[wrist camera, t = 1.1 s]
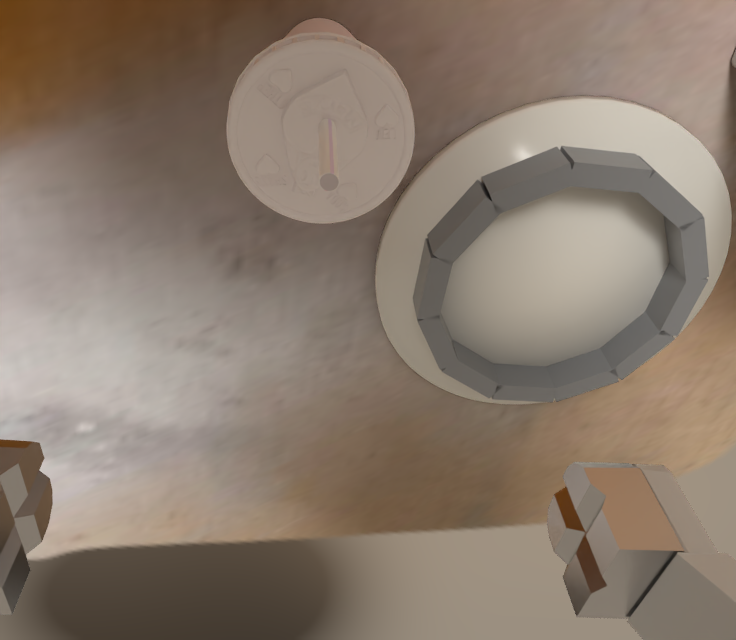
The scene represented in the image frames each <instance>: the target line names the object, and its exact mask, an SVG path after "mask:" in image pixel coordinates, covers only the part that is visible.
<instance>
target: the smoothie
mask: <svg viewBox="0 0 736 640" xmlns="http://www.w3.org/2000/svg"><path fill="white" fill-rule="evenodd" d="M226 137H227V145H228V150H229V154H230V157H231V160H232V163H233V165H234V167H235V170H236V172H237V173H238V175H239V177H240V179H241V180H242V182H243V183H244V185H245V186H246V187H247V188H248V189H249V191H250V192H251V193H252V194H253V195H254V196H255V197H256V198H257V199H258V200H260V201H261V202H262V203H263V204H264V205H266V206H267V207H269V208H270V209H272V210H274V211H276V212H277V213H279V214H281V215H284V216H286V217H289V218H291V219H294V220H298V221H302V222H308V223H317V224H329V223H338V222H343V221H347V220H350V219H354V218H356V217H359V216H361V215H363V214H365V213H367V212H369V211H371V210H373V209H374V208H376V207H377V206H378V205H380V204H381V203H382V202H384V201H385V200H386V199H387V198H388V197H389V196H390V195H391V194H392V193H393V192H394V191H395V189H396V188H397V187H398V185H399V184H400V182H401V181H402V179H403V177H404V176H405V174H406V172H407V170H408V167H409V164H410V162H411V158H412V155H413V150H414V144H415V124H414V117H413V111H412V107H411V103H410V99H409V95H408V91H407V89H406V88H405V86H404V84H403V82H402V81H401V79H400V77H399V75H398V74H397V72H396V70H395V69H394V68H393V67H392V66H391V65H390V64H389V63H388V62H387V61H386V60H385V59H384V58H383V57H382V56H381V55H380V54H379V53H378V52H377V51H376V50H374V49H372V48H371V47H369V46H367V45H365V44H363V43H362V42H360V41H358V40H356V39H355V38H354V37H353V35H352V34H351V33H350V32H349V31H348V30H347V29H346V28H345V27H344V26H342V25H341V24H339V23H337V22H335V21H333V20H330V19H326V18H313V19H308V20H305V21H303V22H301V23H299V24H298V25H296V26H295V27H294V28H293V29H292V30H291V31H290V32H289V33H288V34H287V35H286V36H285V37H284V39H282V40H279V41H276V42H274V43H273V44H271V45H270V46H269V47H267V48H266V49H264V50H263V51H262V52H260V53H259V54H257V55H256V56H255V57H254V58H253V59H252V60H251V62H250V63H249V64H248V65H247V67H246V68H245V69H244V71H243V72H242V73H241V74H240V76H239V77H238V79H237V82H236V84H235V87H234V89H233V92H232V94H231V97H230V100H229V107H228V115H227V124H226Z"/></svg>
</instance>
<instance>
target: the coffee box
mask: <svg viewBox="0 0 736 640" xmlns="http://www.w3.org/2000/svg"><path fill="white" fill-rule="evenodd" d="M732 65H733V67H735V68H736V50H735V52H734V55H733V57H732Z"/></svg>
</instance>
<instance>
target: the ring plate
mask: <svg viewBox="0 0 736 640" xmlns="http://www.w3.org/2000/svg"><path fill="white" fill-rule="evenodd" d="M731 225H732V211H731V204H730V197H729V192H728V189H727V186H726V183H725V180H724V177H723V174H722V172H721V171H720V169H719V167H718V165H717V163H716V161H715V160H714V158H713V157H712V155H711V154H710V153H709V152H708V150H707V149H706V148H705V147H704V146H703V144H702V143H701V142H700V141H699V140H698V139H696V138H695V137H694V136H693V135H692V134H690V133H689V132H688V131H687V130H686V129H684V128H683V127H682V126H681V125H679V124H678V123H677V122H675V121H674V120H672V119H671V118H669V117H667V116H665V115H663V114H662V113H660V112H658V111H656V110H655V109H652V108H649V107H646V106H644V105H641V104H638V103H635V102H633V101H628V100H623V99H618V98H613V97H606V96H585V95H580V96H569V97H557V98H551V99H547V100H542V101H538V102H533V103H529V104H526V105H523V106H520V107H517V108H514V109H511V110H508V111H506V112H503V113H500V114H498V115H496V116H494V117H492V118H490V119H488V120H486V121H484V122H482V123H480V124H478V125H476V126H475V127H473V128H472V129H470V130H468V131H467V132H465V133H464V134H462V135H461V136H459V137H458V138H456V139H454V140H453V141H452V142H451V143H449V144H448V145H447V146H446V147H445V148H443V149H442V150H441V151H440V152H439V153H437V154H436V155H435V156H434V157H433V158H432V159H431V160H430V161H429V162H428V163H427V164H426V165H425V166H424V167H423V168H422V169H421V170H420V171H419V172H418V173H417V174H416V175H415V177H414V178H413V179H412V181H411V182H410V184H409V185H408V186H407V188H406V189H405V190H404V192H403V193H402V194H401V196H400V198H399V199H398V201H397V203H396V205H395V206H394V208H393V210H392V212H391V214H390V215H389V218H388V220H387V223H386V225H385V228H384V230H383V233H382V235H381V239H380V243H379V248H378V252H377V256H376V267H375V287H376V298H377V305H378V309H379V314H380V318H381V322H382V324H383V327H384V329H385V332H386V334H387V336H388V339H389V340H390V342H391V343H392V345H393V347H394V348H395V350H396V352H397V353H398V354H399V355H400V356H401V358H402V359H403V360H404V361H405V362H406V363H407V365H408V366H409V367H411V368H412V369H413V370H414V371H415V372H416V373H418V374H419V375H420V376H421V377H423V378H424V379H426V380H427V381H429V382H430V383H432V384H434V385H435V386H437V387H439V388H441V389H443V390H446V391H448V392H450V393H452V394H455V395H458V396H461V397H464V398H467V399H472V400H476V401H481V402H486V403H496V404H534V403H544V402H553V401H555V400H556V402H558V401H561V400H564V399H567V398H570V397H573V396H576V395H579V394H583V393H586V392H588V391H591V390H595V389H598V388H601V387H604V386H607V385H610V384H613V383H616V382H619V381H618V379H619V378H620V379H621V380H623V379H624V378H625V377H626V376H628V375H629V374H630V373H632V372H633V371H634V370H635V369H637V368H638V367H640V366H641V365H643V364H644V363H645V362H647V361H648V360H650V359H651V358H652V357H654V356H655V355H657V354H658V353H659V352H660V351H661V350H663V349H664V348H665V347H666V346H667V345H669V344H670V343H671V342H672V341H673V340H674V339H675V338H676V337H677V336H678V335H679V334H680V333H681V332H682V331H683V330H684V329H685V328H686V327H687V326H688V325H689V323H690V322H691V321H692V320H693V318H694V317H695V316H696V315H697V313H698V312H699V311H700V310H701V308H702V306H703V305H704V303H705V302H706V300H707V299H708V297H709V295H710V294H711V292H712V290H713V288H714V286H715V284H716V282H717V280H718V278H719V276H720V274H721V271H722V268H723V265H724V263H725V260H726V257H727V254H728V248H729V243H730V238H731Z"/></svg>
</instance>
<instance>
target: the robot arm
mask: <svg viewBox="0 0 736 640" xmlns="http://www.w3.org/2000/svg"><path fill="white" fill-rule="evenodd" d="M43 460H44V456H43V452H42V449H41V446H40V443H37V442H30V441H15V440H0V615H12V614H13V611H14V609H15V607H16V604H17V602H18V599H19V597H20V594H21V592H22V589H23V587H24V585H25V582H26V580H27V577H28V574H29V572H30V567H29V564H28V561H27V558H26V554H27V553H29V552H30V551H31V550H32V549H34V548H35V547H36V546H37V545H39V544H40V543H41V542H42V540H43V537H44V535H45V532H46V530H47V527H48V524H49V519H50V514H51V509H52V504H53V503H52V487H51V482H50V478H48V477H47V476H46V475H44V474H43V473H42V472H41V471H39V469H40V467H41V465H42V462H43ZM563 479H564V482H565V484H566V487H565V488H563V489H562V490H560V491H559V492H557V493H556V494H554V496H553V498H552V501H551V503H550V505H549V508H548V521H547V525H548V532H549V538H550V541H551V544H552V547H553V550H554V552H555V553H556V554H557V555H558V556H559V557H560V558H561V559H562V560H563V561H564V562H565V563H566V564H567V567H566V570H565V573H564V575H563V579H564V582H565V585H566V588H567V590H568V594H569V596H570V599H571V602H572V605H573V608H574V611H575V614H576V616H577V617H591V618H621V619H622V618H623V619H628V621H627V622H628V623H629V624H630V625H631V627H632V628H633V629H634V630H635V631H636V632H637V633H638V634H639V636H640V637H642V639H643V640H736V560H735V559H734V558H732V557H731V556H730V555H728V554H724V553H718V551H717V550H716V548H715V546H714V544H713V543H712V541H711V539H710V538H709V536H708V534H707V532H706V531H705V529H704V528H703V526H702V524H701V522H700V521H699V519H698V517H697V516H696V514H695V512H694V510H693V509H692V507H691V505H690V503H689V502H688V500H687V498H686V497H685V495H684V493H683V491H682V490H681V488H680V487H679V485H678V483H677V481H676V480H675V478H674V476H673V474H672V473H671V471H670V470H669V469H667V468H666V467H665V466H664V465H648V464H629V463H596V462H574V463H572V464H571V465H569V466H568V467H567V469H566V471H565V473H564V475H563Z"/></svg>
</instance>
